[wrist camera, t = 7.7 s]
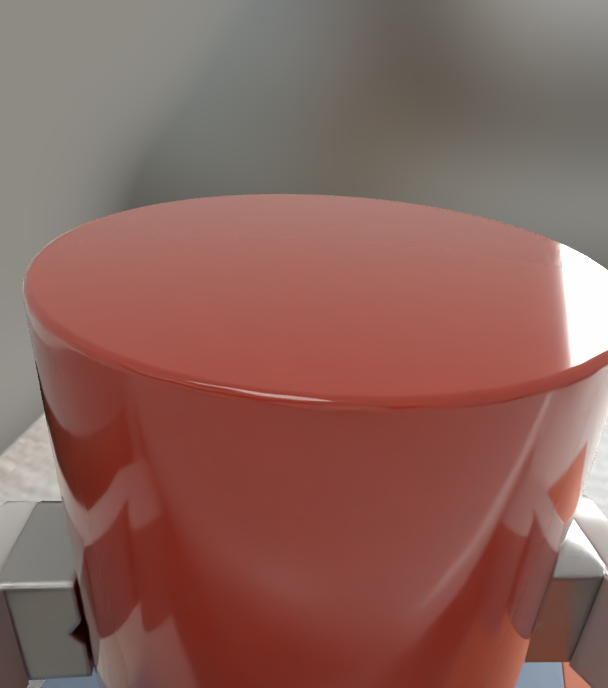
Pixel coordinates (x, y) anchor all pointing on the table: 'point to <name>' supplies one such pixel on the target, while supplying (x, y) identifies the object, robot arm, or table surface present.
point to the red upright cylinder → (316, 437)
